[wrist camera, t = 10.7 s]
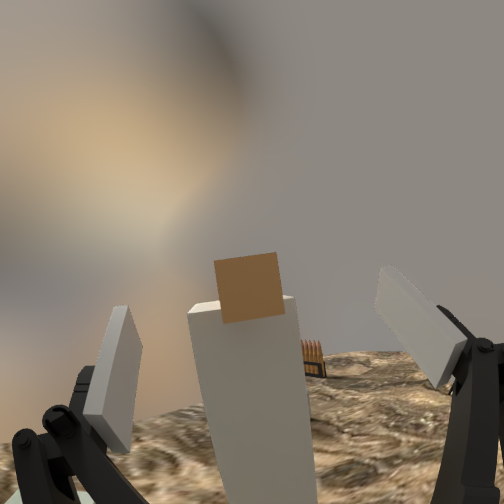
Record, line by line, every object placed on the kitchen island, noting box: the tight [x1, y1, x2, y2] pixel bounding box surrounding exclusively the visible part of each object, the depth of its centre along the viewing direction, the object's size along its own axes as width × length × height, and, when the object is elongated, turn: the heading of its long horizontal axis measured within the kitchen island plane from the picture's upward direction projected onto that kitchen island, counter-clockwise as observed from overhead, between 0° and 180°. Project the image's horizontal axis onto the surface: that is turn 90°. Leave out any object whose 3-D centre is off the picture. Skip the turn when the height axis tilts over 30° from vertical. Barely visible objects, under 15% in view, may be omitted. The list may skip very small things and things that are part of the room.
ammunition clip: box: [301, 340, 326, 378], centre depth 93 cm, size 11×2×12 cm, turn 39°
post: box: [187, 295, 318, 504], centre depth 26 cm, size 8×10×32 cm
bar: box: [214, 252, 285, 324], centre depth 25 cm, size 3×21×3 cm, turn 6°
